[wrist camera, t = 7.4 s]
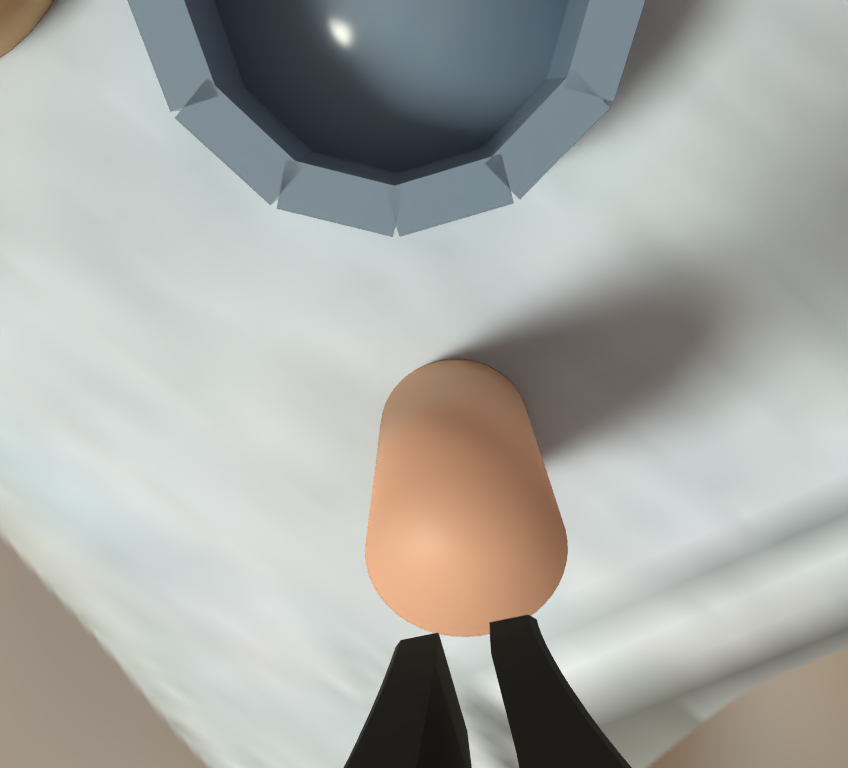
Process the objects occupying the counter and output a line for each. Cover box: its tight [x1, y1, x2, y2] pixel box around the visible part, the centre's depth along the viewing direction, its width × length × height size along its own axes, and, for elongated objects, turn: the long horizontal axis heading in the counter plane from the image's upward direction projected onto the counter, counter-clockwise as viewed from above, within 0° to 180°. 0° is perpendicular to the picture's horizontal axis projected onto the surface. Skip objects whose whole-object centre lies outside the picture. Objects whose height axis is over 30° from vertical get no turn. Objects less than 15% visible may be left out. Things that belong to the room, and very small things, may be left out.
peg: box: [365, 359, 568, 637], centre depth 18 cm, size 4×4×6 cm
